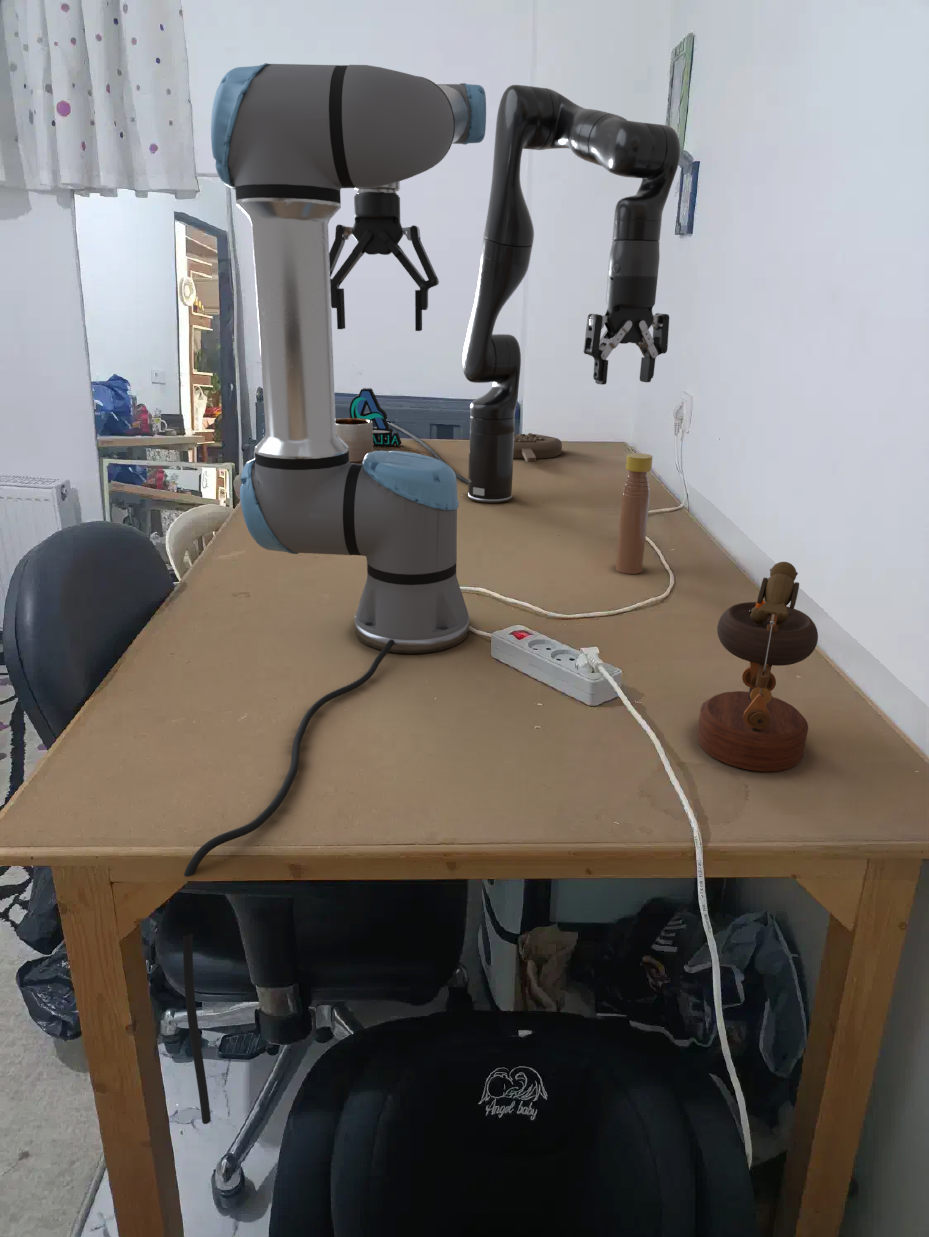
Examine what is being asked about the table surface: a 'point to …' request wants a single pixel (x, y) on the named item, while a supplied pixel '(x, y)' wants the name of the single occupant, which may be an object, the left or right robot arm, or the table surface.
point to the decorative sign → (374, 418)
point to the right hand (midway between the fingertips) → (623, 383)
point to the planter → (356, 437)
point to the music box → (760, 680)
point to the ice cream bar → (535, 447)
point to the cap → (639, 462)
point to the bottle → (633, 523)
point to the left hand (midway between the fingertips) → (379, 330)
